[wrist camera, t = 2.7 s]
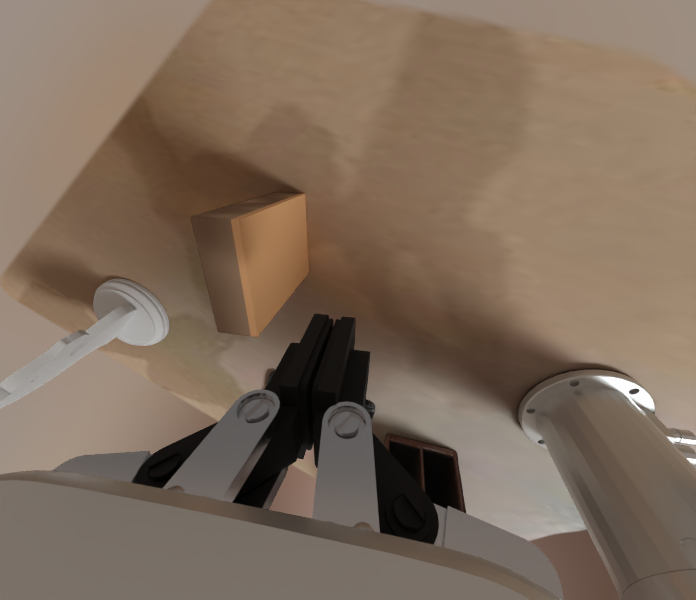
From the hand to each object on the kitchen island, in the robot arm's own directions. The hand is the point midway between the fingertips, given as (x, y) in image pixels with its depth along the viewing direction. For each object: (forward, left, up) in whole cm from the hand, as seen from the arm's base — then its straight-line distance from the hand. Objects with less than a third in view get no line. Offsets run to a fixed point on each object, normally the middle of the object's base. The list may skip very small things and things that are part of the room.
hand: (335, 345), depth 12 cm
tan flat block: (+8, 0, -17) cm, 19 cm away
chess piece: (+31, +12, -18) cm, 38 cm away
